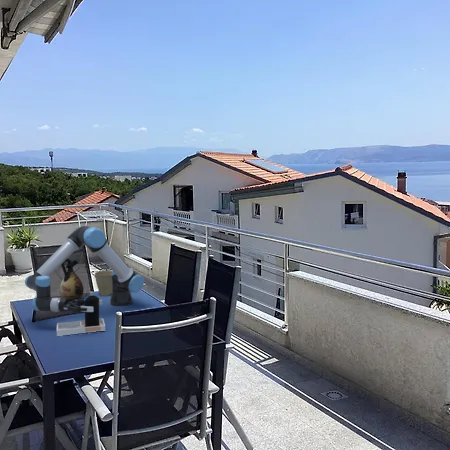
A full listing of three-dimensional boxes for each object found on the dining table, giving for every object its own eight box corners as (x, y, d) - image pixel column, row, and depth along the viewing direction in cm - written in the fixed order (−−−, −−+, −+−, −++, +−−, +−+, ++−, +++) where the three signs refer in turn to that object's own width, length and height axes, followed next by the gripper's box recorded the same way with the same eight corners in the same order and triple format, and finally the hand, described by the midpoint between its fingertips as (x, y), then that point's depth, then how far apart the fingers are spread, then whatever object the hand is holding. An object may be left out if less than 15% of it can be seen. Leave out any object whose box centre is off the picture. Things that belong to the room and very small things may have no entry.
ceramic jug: (74, 297, 319) (73, 255, 316) (88, 300, 310) (87, 257, 307) (53, 302, 305) (51, 258, 302) (67, 306, 296) (65, 261, 293)
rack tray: (103, 324, 262) (103, 318, 261) (105, 331, 249) (105, 325, 249) (57, 329, 253) (57, 322, 253) (56, 337, 241) (56, 330, 241)
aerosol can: (100, 324, 258) (100, 289, 256) (99, 329, 250) (98, 293, 248) (85, 324, 257) (84, 290, 255) (83, 329, 249) (82, 294, 246)
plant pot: (97, 298, 316) (97, 275, 314) (93, 293, 329) (92, 271, 327) (119, 295, 323) (118, 273, 321) (113, 291, 336) (113, 269, 334)
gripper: (70, 304, 266) (105, 305, 264) (50, 318, 242) (89, 319, 240) (69, 292, 265) (105, 293, 264) (49, 304, 241) (88, 305, 239)
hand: (97, 305), depth 252 cm, fingers open, 13 cm apart
